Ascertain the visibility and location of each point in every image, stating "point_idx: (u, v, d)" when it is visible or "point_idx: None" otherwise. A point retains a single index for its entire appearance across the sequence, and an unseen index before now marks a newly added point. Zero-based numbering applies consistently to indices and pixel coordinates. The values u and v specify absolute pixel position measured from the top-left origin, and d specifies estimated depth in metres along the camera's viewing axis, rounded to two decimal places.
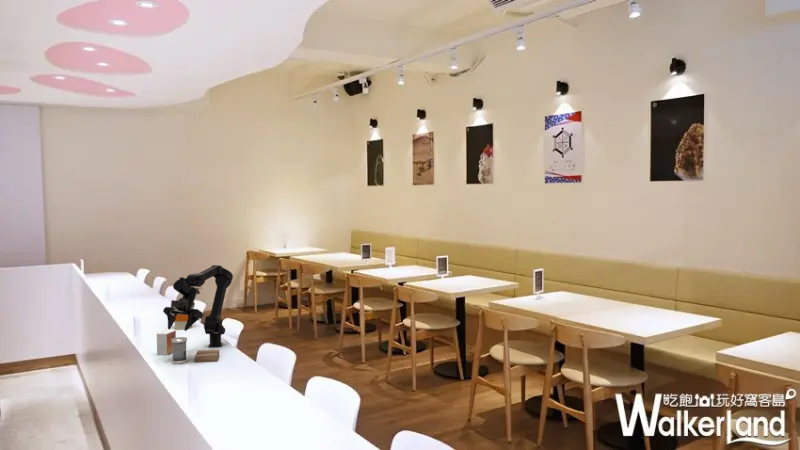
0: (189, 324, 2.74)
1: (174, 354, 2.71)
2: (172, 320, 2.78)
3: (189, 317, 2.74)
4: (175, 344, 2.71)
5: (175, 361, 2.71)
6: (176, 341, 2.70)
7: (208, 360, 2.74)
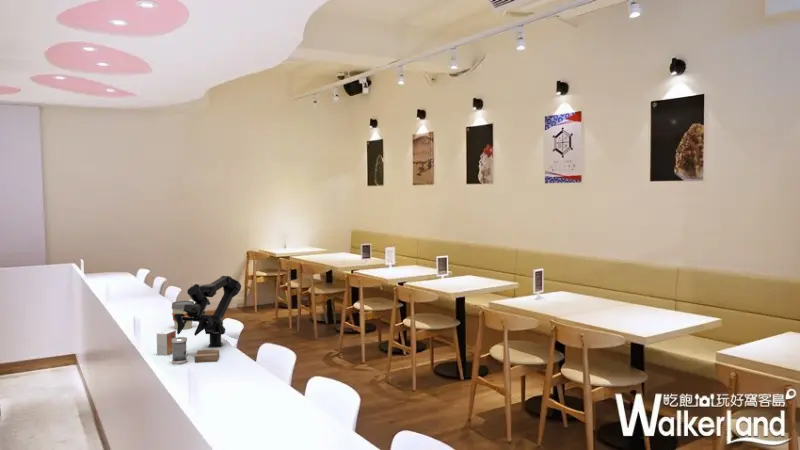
0: (199, 329, 2.79)
1: (174, 354, 2.71)
2: (181, 326, 2.83)
3: (200, 322, 2.80)
4: (175, 344, 2.71)
5: (175, 361, 2.71)
6: (176, 341, 2.70)
7: (208, 360, 2.74)
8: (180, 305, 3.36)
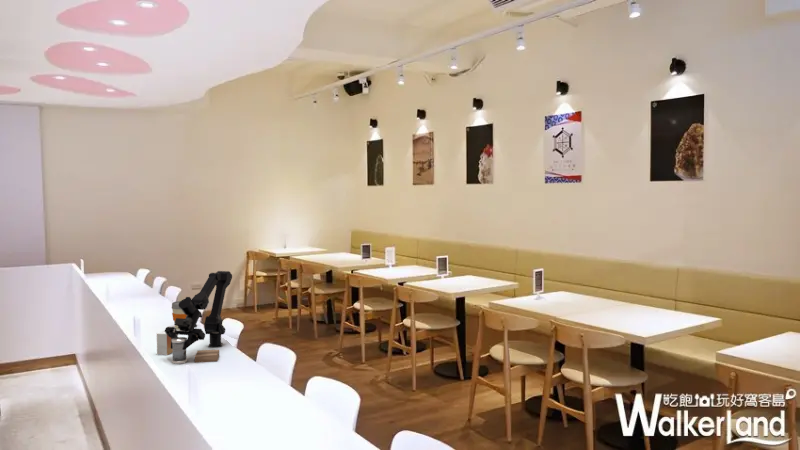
0: (188, 343, 2.73)
1: (174, 354, 2.71)
2: None
3: (189, 336, 2.73)
4: (175, 344, 2.71)
5: (175, 361, 2.71)
6: (176, 341, 2.70)
7: (208, 360, 2.74)
8: None
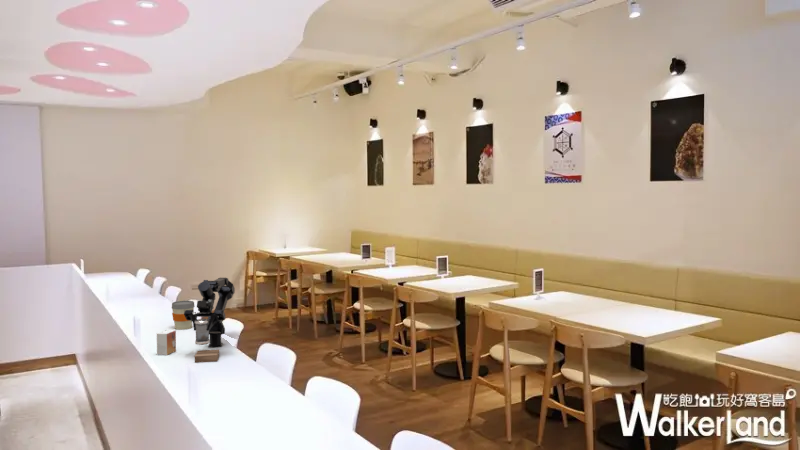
0: (211, 324, 2.83)
1: (199, 335, 2.80)
2: None
3: (212, 317, 2.84)
4: (200, 325, 2.79)
5: (200, 342, 2.80)
6: (201, 322, 2.79)
7: (208, 360, 2.74)
8: (180, 305, 3.36)
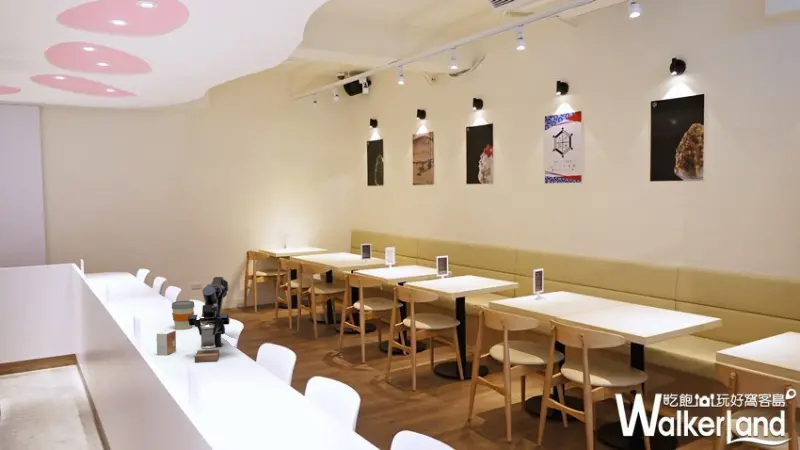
0: (217, 328, 2.82)
1: (205, 340, 2.78)
2: None
3: (217, 321, 2.82)
4: (206, 330, 2.78)
5: (206, 346, 2.78)
6: (208, 327, 2.78)
7: (208, 360, 2.74)
8: (180, 305, 3.36)
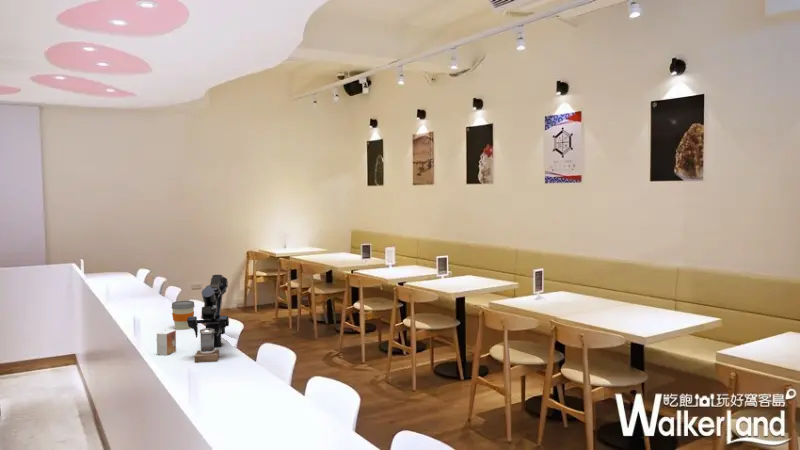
0: (219, 330, 2.80)
1: (204, 345, 2.76)
2: (197, 329, 2.80)
3: (220, 323, 2.81)
4: (206, 335, 2.76)
5: (206, 351, 2.76)
6: (207, 332, 2.76)
7: (208, 360, 2.74)
8: (180, 305, 3.36)
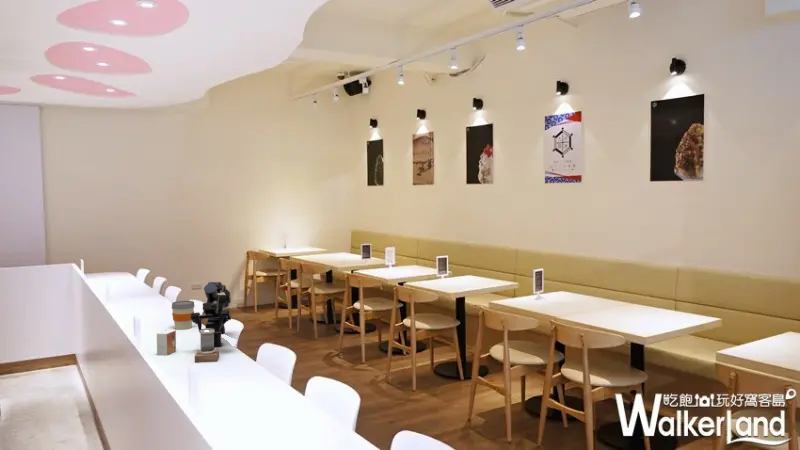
0: (221, 324, 2.89)
1: (204, 345, 2.76)
2: (200, 324, 2.90)
3: (221, 318, 2.89)
4: (206, 335, 2.76)
5: (206, 351, 2.76)
6: (207, 332, 2.76)
7: (208, 360, 2.74)
8: (180, 305, 3.36)
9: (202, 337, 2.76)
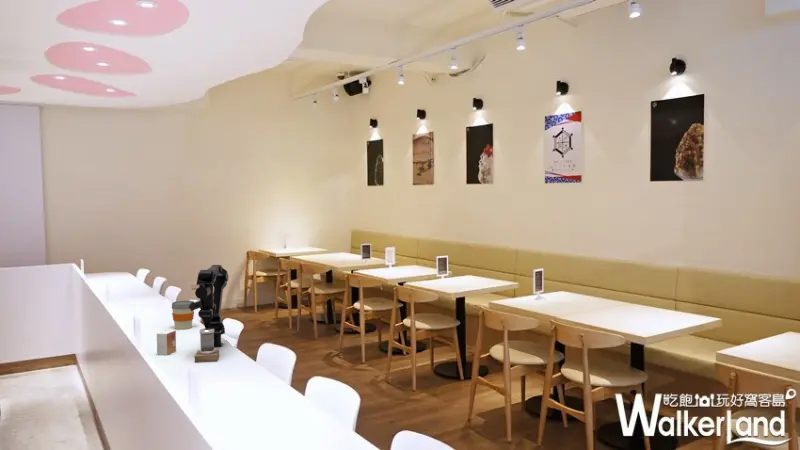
0: (206, 323, 2.83)
1: (204, 345, 2.76)
2: None
3: None
4: (206, 335, 2.76)
5: (206, 351, 2.76)
6: (207, 331, 2.76)
7: (208, 360, 2.74)
8: (180, 305, 3.36)
9: (202, 337, 2.76)
